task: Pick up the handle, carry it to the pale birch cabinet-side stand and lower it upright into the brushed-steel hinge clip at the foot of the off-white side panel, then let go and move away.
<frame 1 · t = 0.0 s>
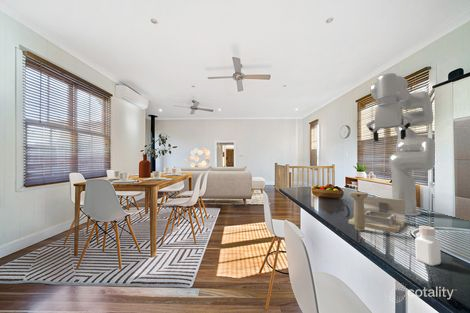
hand: (389, 140, 93), 37 cm above the kitchen island, fingers open, 9 cm apart
hinge stand: (376, 223, 91), on the kitchen island
handle: (359, 230, 83), on the kitchen island
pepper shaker: (428, 263, 57), on the kitchen island
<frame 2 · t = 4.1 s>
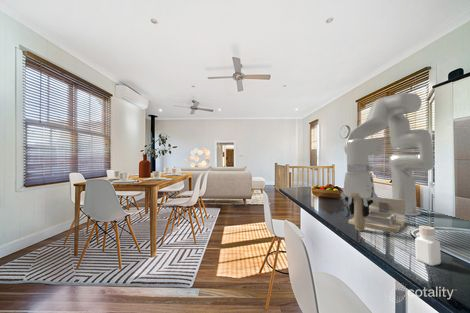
hand: (359, 214, 84), 6 cm above the kitchen island, fingers closed on handle, 4 cm apart
handle: (359, 230, 83), on the kitchen island, touching gripper
everything else where it was.
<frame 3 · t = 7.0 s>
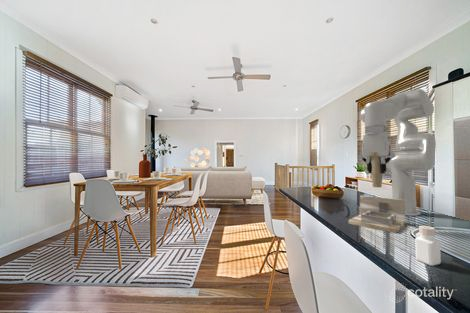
hand: (376, 172, 90), 23 cm above the kitchen island, fingers closed on handle, 4 cm apart
handle: (377, 187, 90), point 16 cm above the kitchen island, touching gripper
everything else where it was.
when the fingers open (9 cm above the kitchen island, at t = 9.8 s): handle stays where it is, resting on hinge stand.
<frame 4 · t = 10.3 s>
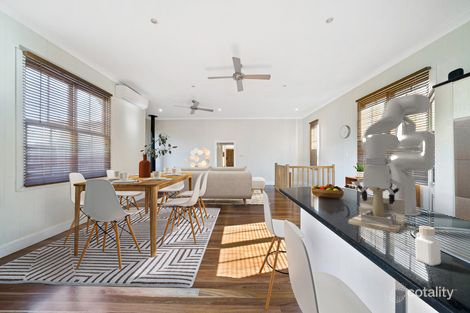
hand: (377, 202, 90), 10 cm above the kitchen island, fingers open, 9 cm apart
handle: (378, 221, 90), point 1 cm above the kitchen island, touching hinge stand
everything else where it was.
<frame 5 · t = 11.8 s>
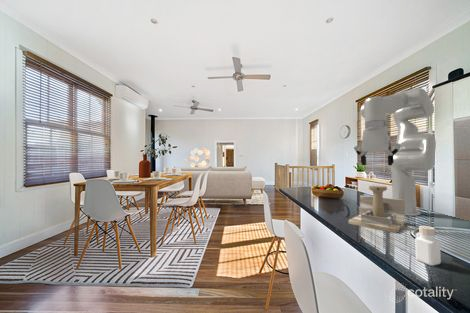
hand: (376, 165, 90), 26 cm above the kitchen island, fingers open, 9 cm apart
nothing on the kitchen island moved.
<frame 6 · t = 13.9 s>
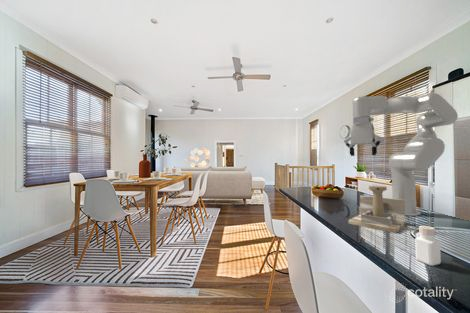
hand: (362, 155, 105), 30 cm above the kitchen island, fingers open, 9 cm apart
nothing on the kitchen island moved.
at the end: handle 0.2 cm from the target spot on the hinge stand, point 1.3 cm above the hinge stand's base; handle tilted 0°; the gripper is holding nothing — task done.
